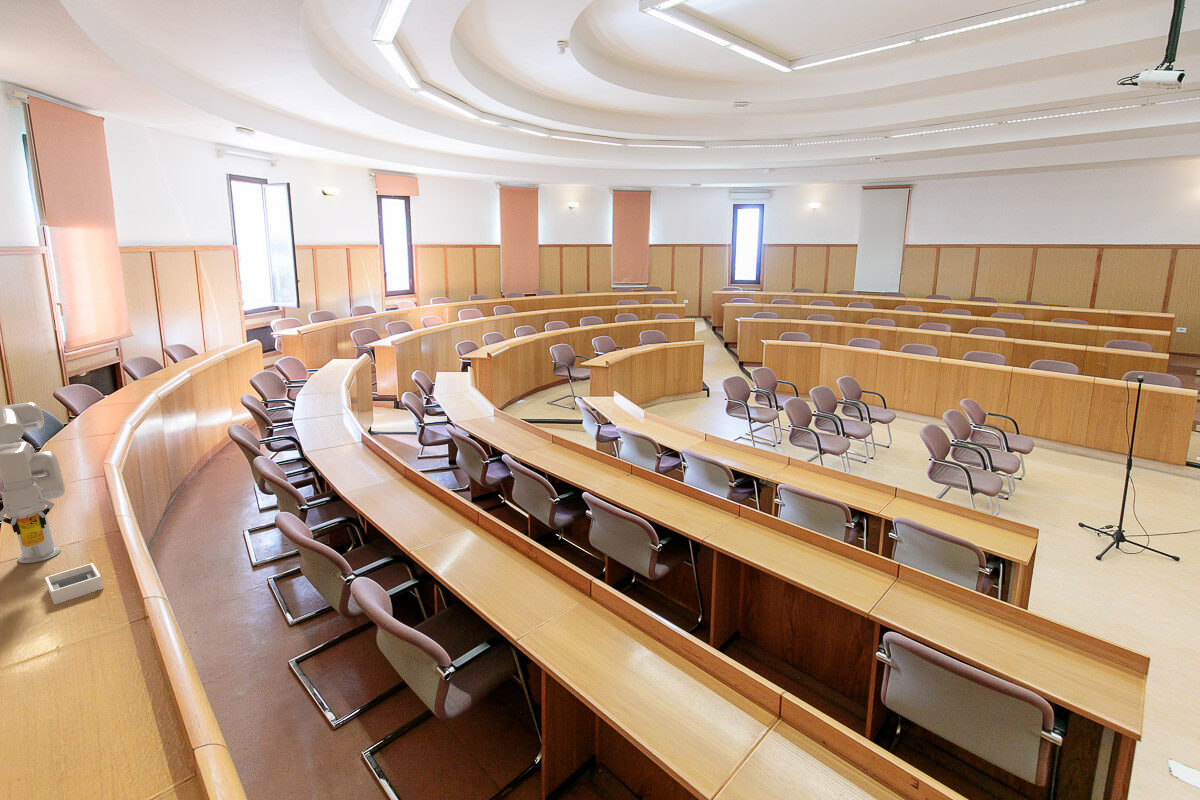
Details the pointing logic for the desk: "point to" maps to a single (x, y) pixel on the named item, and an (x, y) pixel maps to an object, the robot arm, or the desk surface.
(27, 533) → the beer can
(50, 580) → the socket box
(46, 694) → the desk surface
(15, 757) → the desk surface
